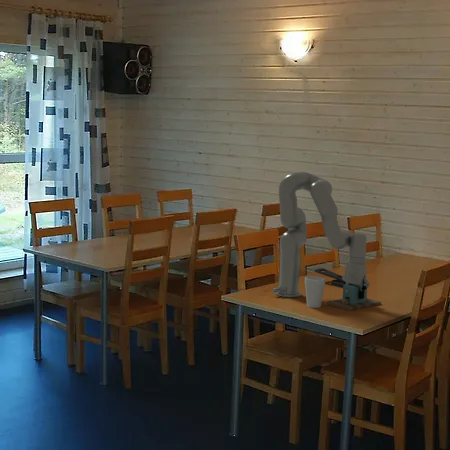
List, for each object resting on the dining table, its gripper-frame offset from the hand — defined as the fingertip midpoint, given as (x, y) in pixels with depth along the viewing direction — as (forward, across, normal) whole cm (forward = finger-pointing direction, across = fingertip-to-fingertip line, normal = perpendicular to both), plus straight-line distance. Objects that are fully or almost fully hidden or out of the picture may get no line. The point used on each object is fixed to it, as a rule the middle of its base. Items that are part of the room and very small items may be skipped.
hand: (354, 296), depth 335 cm
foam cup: (+4, -8, -19) cm, 21 cm away
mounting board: (+4, 0, 0) cm, 4 cm away
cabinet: (+2, 0, 0) cm, 2 cm away
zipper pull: (+4, -33, +23) cm, 40 cm away
